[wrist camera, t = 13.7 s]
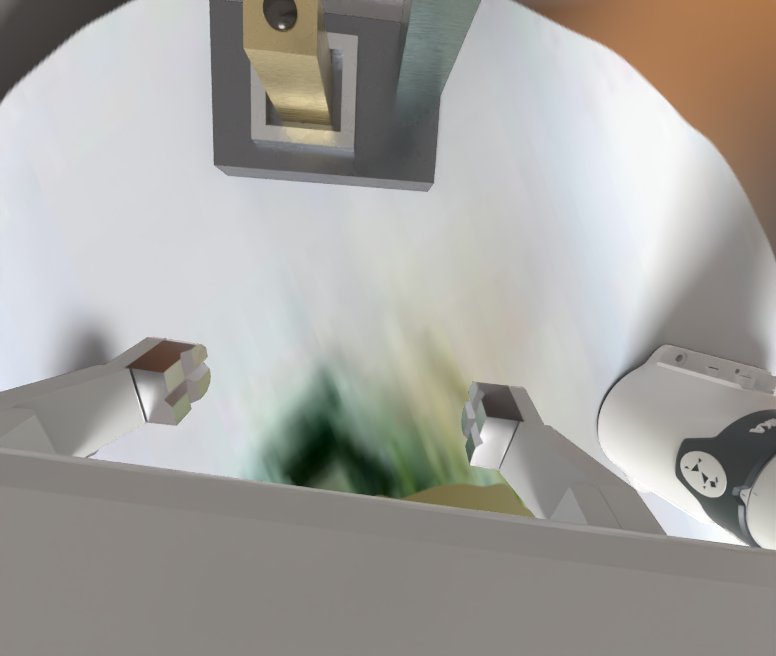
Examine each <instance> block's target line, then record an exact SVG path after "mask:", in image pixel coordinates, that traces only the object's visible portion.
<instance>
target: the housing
mask: <svg viewBox="0 0 776 656" xmlns="http://www.w3.org/2000/svg"><path fill="white" fill-rule="evenodd" d="M243 48H244V50H245V52H246V54H247V56H248V58H249V60H250V61H251V63H252V65H253V67H254V69H255V71H256V73H257V75H258V77H259V79H260V81H261V82H262V84H263V86H264V88H265V90H266V92H267V94H268V96H269V98H270V100H271V102H272V103H273V105H274V107H275V109H276V111H277V113H278V115H279V117H280V119H281V120H286V121H297V122H307V123H317V124H328V125H331V111H332V72H333V70H332V64H331V57H330V50H329V44H328V37H327V30H326V24H325V17H324V10H323V3H322V0H243Z"/></svg>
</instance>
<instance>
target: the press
mask: <svg viewBox="0 0 776 656" xmlns="http://www.w3.org/2000/svg"><path fill="white" fill-rule="evenodd" d="M209 2H210V38H211V75H212V111H213V147H214V165H215V166H216V167H217V168H219V169H220V170H221V171H223V172H224V173H225V174H227V175H228V176H239V177H251V178H264V179H276V180H288V181H301V182H313V183H326V184H338V185H351V186H363V187H376V188H388V189H401V190H413V191H426V192H428V190H429V189H430V188H431V186H432V185H433V184H434V174H435V161H436V147H437V133H438V120H439V106H440V96H441V93H442V91H443V89H444V86H445V84H446V82H447V79H448V77H449V74H450V72H451V70H452V67H453V65H454V63H455V60H456V58H457V56H458V53H459V51H460V49H461V46H462V44H463V42H464V39H465V37H466V34H467V32H468V30H469V27H470V25H471V23H472V20H473V18H474V16H475V13H476V11H477V9H478V6H479V4H480V2H481V0H404V5H403V12H402V19H401V22H394V21H386V20H378V19H370V18H362V17H354V16H346V15H338V14H330V13H324V17H325V24H326V30H327V37H328V44H329V50H330V57H331V64H332V70H333V72H332V111H331V125H328V124H317V123H307V122H297V121H286V120H281V119H280V117H279V115H278V113H277V111H276V109H275V107H274V105H273V103H272V102H271V100H270V98H269V96H268V94H267V92H266V90H265V88H264V86H263V84H262V82H261V81H260V79H259V77H258V75H257V73H256V71H255V69H254V67H253V65H252V63H251V61H250V60H249V58H248V56H247V54H246V52H245V50H244V48H243V3H242V2H234V1H226V0H209Z"/></svg>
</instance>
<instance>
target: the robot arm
mask: <svg viewBox="0 0 776 656" xmlns="http://www.w3.org/2000/svg"><path fill="white" fill-rule="evenodd" d="M207 357H208V356H207V352H206V347H205V346H203V345H202V344H198V343H191V342H185V341H179V340H172V339H166V338H158V337H147V338H145V339H144V340H142V341H141V342H139V343H138V344H136V345H135V346H133V347H131V348H130V349H128V350H127V351H125V352H124V353H122V354H121V355H119V356H118V357H116V358H115V359H113V360H111V361H110V362H108V363H107V364H105V365H95V366H92V367H88V368H84V369H81V370H77V371H74V372H70V373H67V374H63V375H59V376H56V377H52V378H49V379H45V380H41V381H38V382H34V383H31V384H27V385H23V386H20V387H16V388H13V389H9V390H6V391H2V392H0V656H776V377H775V376H772V374H771V373H770V372H769V371H766V370H763V369H760V368H756V367H753V366H749V365H745V364H741V363H738V362H734V361H730V360H726V359H722V358H718V357H715V356H711V355H707V354H703V353H699V352H695V351H691V350H688V349H684V348H680V347H676V346H672V345H667V344H666V345H662V346H660V347H659V348H658V349H657V350H656V351H655V352H654V353H653V354H652V355H651V357H650V358H649V359H648V360H647V362H646V363H644V364H643V365H642V366H640V367H639V368H637V369H635V370H634V371H632V372H630V373H629V374H627V375H626V376H625V377H623V378H622V379H621V380H620V381H619V382H618V383H617V384H616V385H615V386H614V387H613V388H612V390H611V391H610V393H609V394H608V396H607V397H606V399H605V401H604V403H603V405H602V408H601V411H600V415H599V420H598V436H599V441H600V444H601V447H602V449H603V451H604V453H605V454H606V456H607V457H608V458H609V459H610V460H611V461H612V462H613V463H614V464H615V465H617V466H618V467H619V468H621V469H622V470H623V471H624V472H625V474H626V476H627V478H628V480H629V482H630V484H631V485H632V486H633V487H634V488H635V489H637V490H639V491H640V492H642V493H648V492H654V493H656V494H657V495H659V496H661V497H662V498H664V499H665V500H667V501H668V502H670V503H672V504H673V505H675V506H676V507H678V508H679V509H681V510H683V511H684V512H686V513H687V514H689V515H691V516H692V517H694V518H695V519H697V520H699V521H701V522H704V523H709V522H711V523H717V524H718V525H720V526H721V527H722V528H724V529H725V530H726V531H727V532H729V534H731V535H732V536H734V537H735V538H736V539H738V540H739V541H741V542H743V543H745V544H746V545H747V544H748V545H749V546H751V547H749V546H742V545H734V544H727V543H719V542H712V541H704V540H697V539H689V538H682V537H674V536H667V534H666V533H665V531H664V530H663V529H662V527H661V526H660V524H659V523H658V521H657V520H656V519H655V517H654V516H653V514H652V513H651V511H650V510H649V509H648V507H647V506H646V504H645V503H644V501H643V500H642V498H641V497H640V496H639V494H638V493H637V491H636V490H635V489H634V488H633V487H631V486H630V485H628V484H627V483H626V482H624V481H623V480H622V479H620V478H619V477H618V476H616V475H615V474H614V473H612V472H611V471H610V470H608V469H607V468H606V467H604V466H603V465H602V464H600V463H599V462H598V461H596V460H595V459H594V458H592V457H591V456H590V455H588V454H587V453H586V452H584V451H583V450H582V449H580V448H579V447H578V446H576V445H575V444H574V443H572V442H571V441H570V440H568V439H567V438H566V437H564V436H563V435H562V434H560V433H559V432H557V431H556V430H555V429H553V428H552V427H551V426H548V425H544V423H543V421H542V419H541V417H540V416H539V414H538V412H537V410H536V408H535V406H534V404H533V402H532V401H531V399H530V397H529V395H528V393H527V391H526V389H525V388H523V387H519V386H509V385H498V384H489V383H481V382H472V384H471V385H470V388H469V391H468V393H469V397H470V400H469V401H467V402H466V403H465V404H464V408H463V412H462V421H461V422H462V431H463V435H464V436H465V437H466V438H467V439H468V440H467V443H466V451H467V456H468V460H469V465H472V466H479V467H485V468H491V469H497V470H499V472H500V473H501V474H502V476H503V477H504V478H505V479H506V481H507V482H508V483H509V484H510V486H511V487H512V488H513V489H514V491H515V492H516V493H517V494H518V495H519V497H520V498H521V499H522V500H523V502H524V503H525V504H526V505H527V507H528V508H529V509H530V510H531V512H532V513H533V514H534V515H535V517H536V518H532V517H525V516H517V515H510V514H501V513H494V512H487V511H479V510H472V509H463V508H456V507H449V506H441V505H434V504H426V503H419V502H412V501H405V500H397V499H390V498H382V497H375V496H368V495H360V494H353V493H345V492H338V491H331V490H323V489H316V488H308V487H301V486H293V485H286V484H278V483H270V482H263V481H255V480H248V479H240V478H233V477H225V476H218V475H210V474H203V473H195V472H188V471H180V470H173V469H165V468H158V467H150V466H143V465H135V464H128V463H120V462H113V461H106V460H98V459H91V458H84V457H86V456H88V455H90V454H92V453H94V452H95V451H97V450H99V449H101V448H103V447H104V446H106V445H108V444H110V443H112V442H114V441H115V440H117V439H119V438H121V437H123V436H125V435H126V434H128V433H130V432H132V431H134V430H136V429H137V428H139V427H141V426H143V425H145V424H146V422H148V423H157V424H166V425H176V426H177V425H178V424H179V422H180V421H181V420H182V419H183V418H184V417H185V416H186V415H187V414H188V412H189V411H190V410H191V403H193V402H195V401H197V400H199V399H201V398H202V397H203V395H204V394H205V393H206V392H207V389H208V387H209V384H210V377H211V375H210V369H209V368H208V367H207V365H206V364H205V363H204V361H205V360H206V358H207Z"/></svg>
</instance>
